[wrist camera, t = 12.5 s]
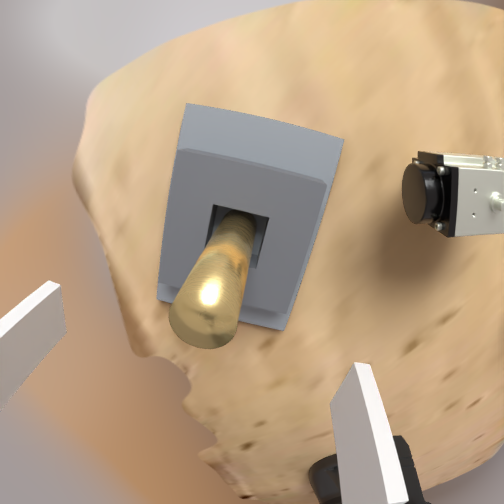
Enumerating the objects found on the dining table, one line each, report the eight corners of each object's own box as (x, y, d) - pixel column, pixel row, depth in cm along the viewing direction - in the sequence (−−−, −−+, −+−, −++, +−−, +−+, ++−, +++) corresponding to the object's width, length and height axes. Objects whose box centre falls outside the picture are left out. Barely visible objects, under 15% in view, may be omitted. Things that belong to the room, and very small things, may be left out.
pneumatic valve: (471, 199, 26) (544, 236, 14) (379, 201, 27) (438, 245, 16) (472, 149, 24) (550, 166, 12) (377, 144, 25) (442, 153, 14)
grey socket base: (283, 322, 32) (284, 348, 28) (161, 292, 32) (146, 314, 28) (340, 139, 25) (352, 140, 21) (191, 104, 25) (175, 99, 21)
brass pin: (252, 246, 28) (229, 355, 14) (218, 237, 28) (166, 338, 14) (260, 213, 27) (243, 302, 13) (225, 204, 27) (171, 283, 13)
